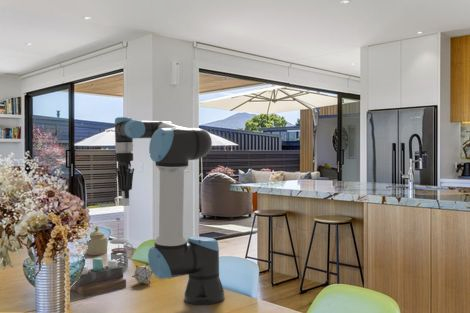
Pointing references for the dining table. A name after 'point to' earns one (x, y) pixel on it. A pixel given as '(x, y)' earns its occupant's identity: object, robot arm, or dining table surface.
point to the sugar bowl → (97, 243)
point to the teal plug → (97, 264)
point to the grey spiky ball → (143, 274)
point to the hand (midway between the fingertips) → (125, 205)
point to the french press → (120, 250)
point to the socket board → (100, 281)
